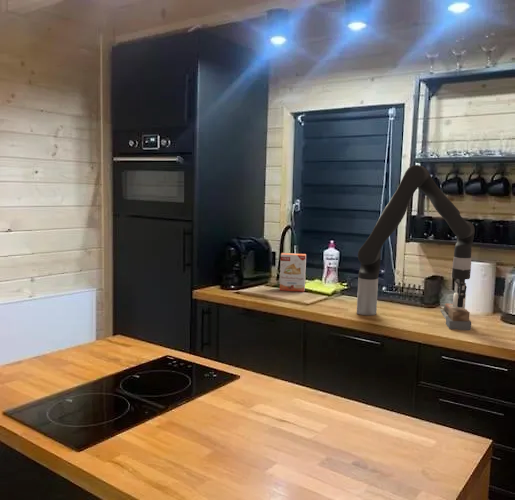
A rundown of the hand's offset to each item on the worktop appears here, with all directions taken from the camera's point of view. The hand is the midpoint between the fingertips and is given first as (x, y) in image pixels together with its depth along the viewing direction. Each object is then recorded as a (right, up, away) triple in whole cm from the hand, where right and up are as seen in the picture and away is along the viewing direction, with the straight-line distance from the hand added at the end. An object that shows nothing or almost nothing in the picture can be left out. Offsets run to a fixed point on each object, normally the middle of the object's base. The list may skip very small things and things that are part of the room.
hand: (458, 305), depth 243 cm
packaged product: (+5, -8, +20) cm, 22 cm away
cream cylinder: (0, -1, 0) cm, 1 cm away
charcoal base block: (0, -10, +2) cm, 10 cm away
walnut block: (0, -6, +1) cm, 6 cm away
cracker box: (-69, +1, +70) cm, 98 cm away
